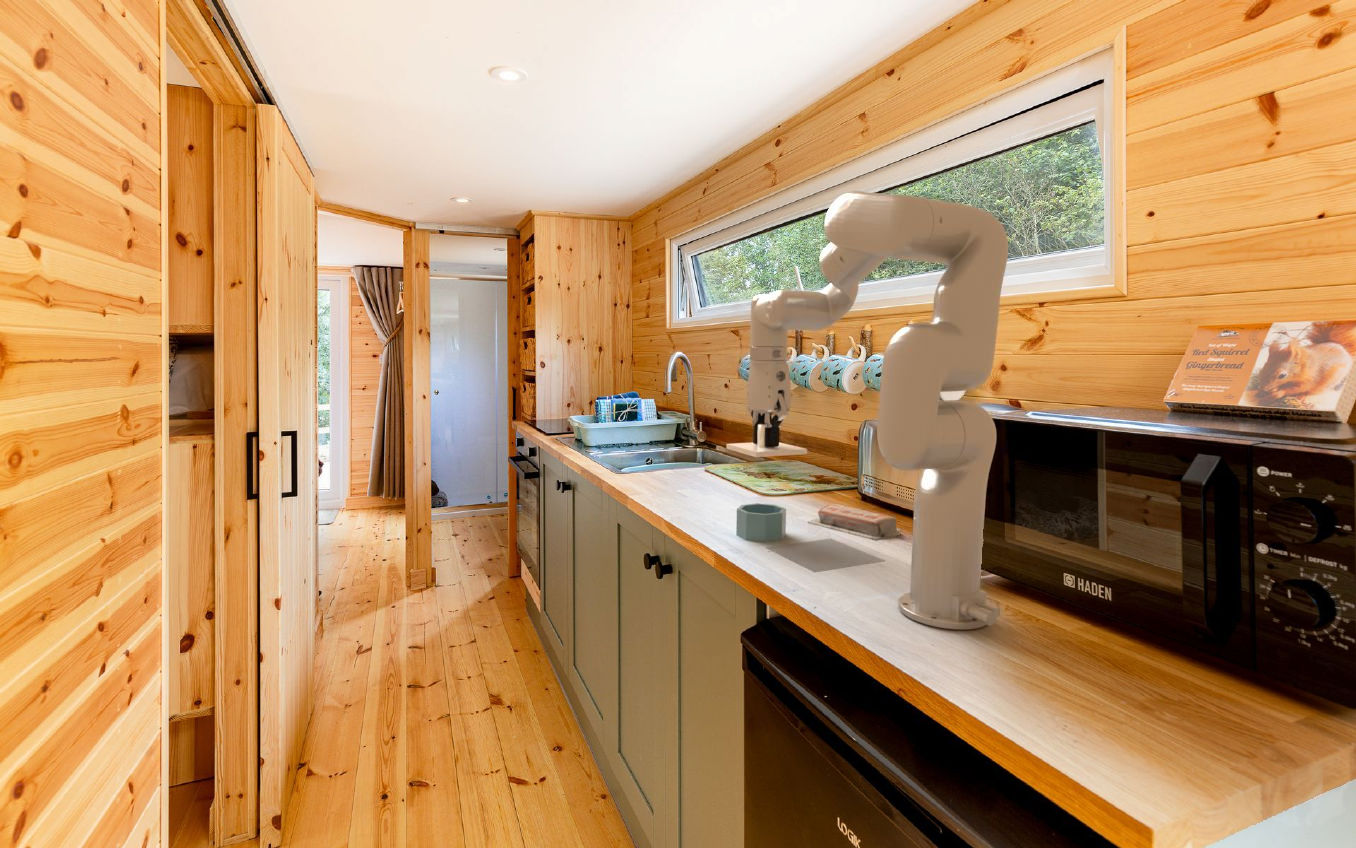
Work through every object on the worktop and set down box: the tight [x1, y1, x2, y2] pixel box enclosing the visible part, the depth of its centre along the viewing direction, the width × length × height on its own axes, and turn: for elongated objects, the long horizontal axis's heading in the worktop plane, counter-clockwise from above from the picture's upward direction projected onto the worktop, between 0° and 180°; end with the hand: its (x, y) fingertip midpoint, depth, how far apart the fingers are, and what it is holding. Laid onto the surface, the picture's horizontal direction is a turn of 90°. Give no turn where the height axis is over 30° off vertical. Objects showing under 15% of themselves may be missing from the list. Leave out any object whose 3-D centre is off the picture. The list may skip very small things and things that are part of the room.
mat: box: [764, 538, 886, 573], centre depth 124 cm, size 16×16×1 cm
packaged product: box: [807, 503, 902, 541], centre depth 143 cm, size 18×5×10 cm
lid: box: [725, 423, 808, 458], centre depth 134 cm, size 12×12×6 cm
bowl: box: [736, 503, 787, 543], centre depth 136 cm, size 10×10×6 cm
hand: (765, 444), depth 134 cm, fingers closed on lid, 3 cm apart
